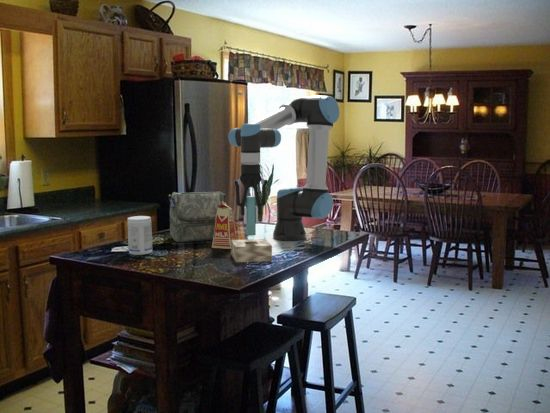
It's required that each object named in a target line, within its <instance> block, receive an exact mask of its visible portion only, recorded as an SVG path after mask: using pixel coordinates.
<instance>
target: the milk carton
mask: <svg viewBox="0 0 550 413" xmlns="http://www.w3.org/2000/svg"><path fill="white" fill-rule="evenodd" d="M231 240H237V233H236V227H235V219H234V212H233V209H232V208H231V207H230V206H229V205H227V202H225V201H224V202H223V201H222V204H221V205H220V206H219V207H218V208H217V214H216V218H215V231H214V237H213V240H212V242H211V243H212V244H211V248H212V249H227V250H229V249H230V250H231Z"/></svg>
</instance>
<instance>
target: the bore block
mask: <svg viewBox="0 0 550 413" xmlns="http://www.w3.org/2000/svg"><path fill="white" fill-rule="evenodd" d="M230 254H231V255H230V256H231V257H232V258H233V260H234V262H235V263H249V262H250V263H251V262H252V263H253V262H255V263H256V262H273V245H272V244H271V243H270V242H269V241H268V240H267V239H266V238H256V239H255V238H252V239H236V240H231V249H230Z"/></svg>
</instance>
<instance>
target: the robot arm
mask: <svg viewBox="0 0 550 413" xmlns="http://www.w3.org/2000/svg"><path fill="white" fill-rule="evenodd" d="M339 117H340V106H339V103H338V102H337V100H336V98H335V97H333V96H330V95H311V96H308V95H307V96H299V97H296V98H295V99H292V100H290V101H289V100H288V102H285V103H283V104H281V105H280V106H279V108H278V109H277V110H275V111H272V112H271V113H268V114H267V115H265V116H262V117H261V118H259V119H256V120H255V121H252V122H251V123H242V124H241V127H235V128H232V129H230V130H229V131H228V132H229V133H228V134H227V135H228V136H227V138H228V142H229V144H230V145H231V146H233V147H238V148H240V163H241V165H240V176H239V178H238V179H234V180H233V181H232V182H233V184H234V187H235V188H234V189H235V203H236V205H237V206H238V207H240V214H241V216H243V224H244V225H246V224H247V207H246V197H247V195H248V190H249V188H253V192H254V196H255V197H256V225H259V216H261V212H262V210H261V207H262V206H265V205H266V197H267V196H266V195H267V194H266V193H267V185H268V182H269V181H268V180H267V179H264V178H262V176H261V164H260V163H261V148H263V149H264V148H277V147H278V146H279V145H280V144H281V141H282V134H281V132H280V131H279V129H280V128H282V127H284V126H286V125H287V126H291V125H294V124H297V123H306V127H307V128H308V130H309V138H308V152H307V166H306V180H305V181H306V183H305V185H302V187H301V186H300V187H290V188H281V189H278V191H277V194H276V224H275V226H274V230H273V233H272V238H273V239H274V240H278V241H300V240H305V239H306V237H307V232H306V230H305V226H304V223H303V218H310V219H314V220H317V219H319V220H322V219H326V218H327V217H328V216H329V215H330V213H331V212H332V210H333V206H334V198H333V195H332V194H330V193H329V188H328V186H327V185H326V181H327V169H328V166H327V165H328V154H329V142H330V141H329V138H330V131H331V130H332V129H333V128H334V123H337V121H338V119H339ZM260 182H261V199H260V195H259V190H258V189H259V188H258V186H259V184H260ZM241 183H242V185H243V191H242V192H243V193H242V197H240V196H241V195H240V185H241Z"/></svg>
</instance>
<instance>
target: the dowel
mask: <svg viewBox="0 0 550 413" xmlns="http://www.w3.org/2000/svg"><path fill="white" fill-rule="evenodd" d="M256 206H257V204H256V197H255V195H254V196H253V195H249V196H246V202H245V207H247V224H245V235H246V236H251V237H252V236H256V234H257V233H256V231H257V230H256V229H257V228H256V226H257V224H256Z"/></svg>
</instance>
